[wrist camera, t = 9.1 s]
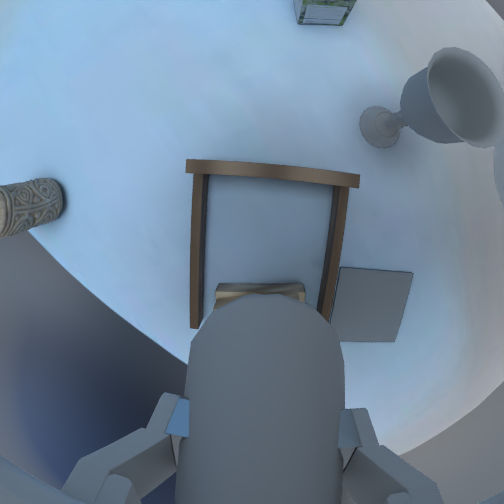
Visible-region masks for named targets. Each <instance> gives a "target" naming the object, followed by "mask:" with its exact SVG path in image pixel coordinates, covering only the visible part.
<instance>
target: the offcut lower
mask: <svg viewBox="0 0 504 504" xmlns="http://www.w3.org/2000/svg"><path fill="white" fill-rule="evenodd" d="M293 289H298V293H299V298H300V301H301V302H304V303H305V290H304V287H303V284H229V283H219V284H218V286H217V289H216V291H215V295H216V300H217V298H223V297H233V296H242V295H248V294H252V293H254V294H260V293H269V292H277V291H285V290H293Z"/></svg>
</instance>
